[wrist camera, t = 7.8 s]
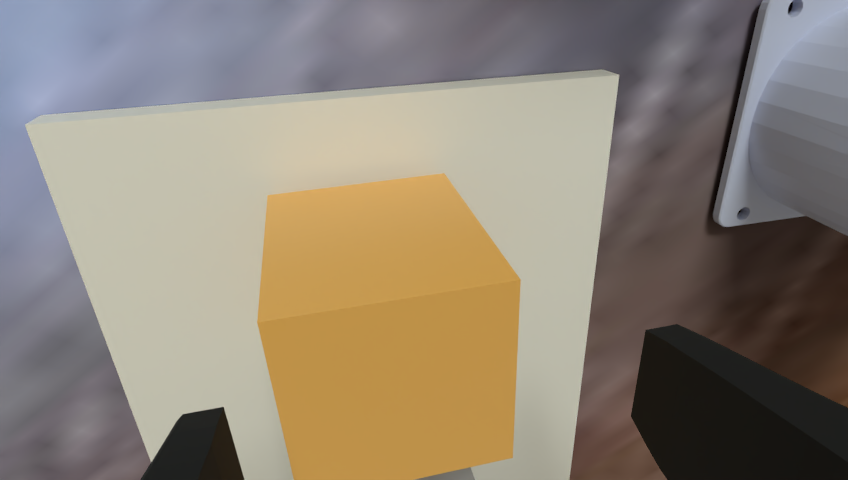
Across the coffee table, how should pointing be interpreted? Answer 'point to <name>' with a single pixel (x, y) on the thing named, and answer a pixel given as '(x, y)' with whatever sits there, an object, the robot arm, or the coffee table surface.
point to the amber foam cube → (387, 331)
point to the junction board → (315, 169)
